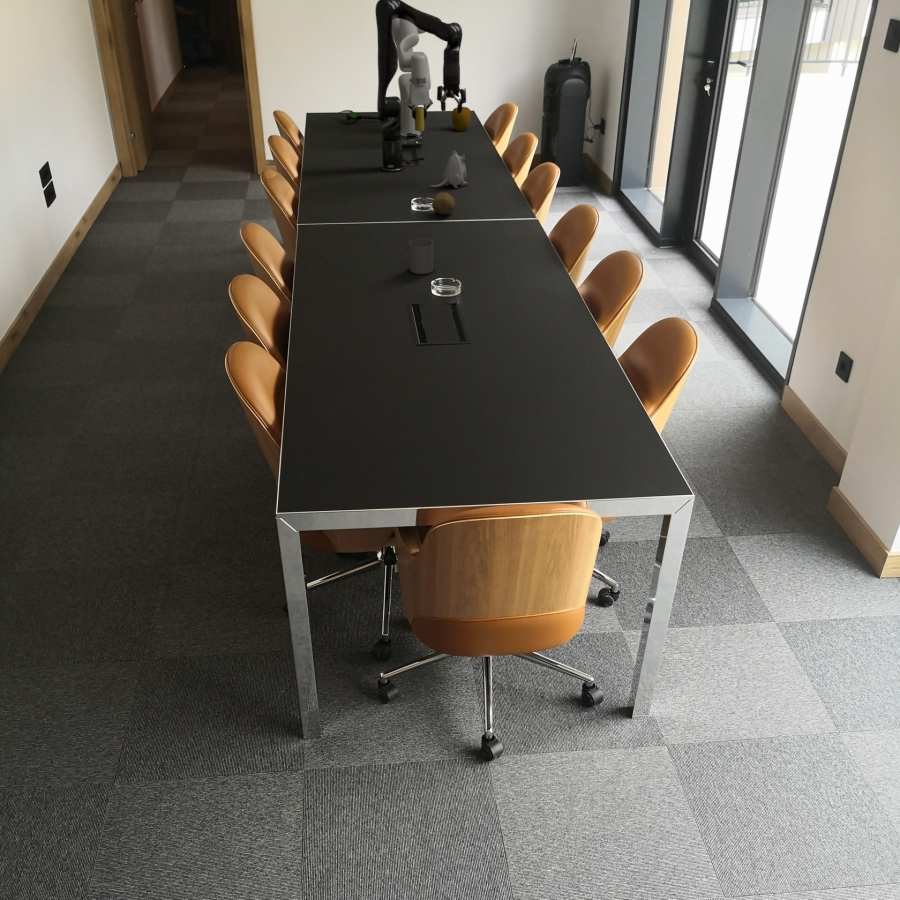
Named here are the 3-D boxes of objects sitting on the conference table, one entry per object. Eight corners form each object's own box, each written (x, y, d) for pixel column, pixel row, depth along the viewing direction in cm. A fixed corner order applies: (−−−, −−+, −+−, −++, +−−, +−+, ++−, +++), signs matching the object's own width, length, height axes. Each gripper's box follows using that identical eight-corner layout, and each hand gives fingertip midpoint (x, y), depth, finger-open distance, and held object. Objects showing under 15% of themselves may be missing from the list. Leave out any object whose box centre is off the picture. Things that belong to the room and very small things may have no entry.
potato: (453, 208, 369) (453, 189, 365) (456, 218, 357) (456, 199, 353) (431, 208, 368) (430, 189, 364) (432, 218, 356) (432, 199, 352)
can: (421, 131, 450) (420, 108, 444) (413, 130, 452) (412, 108, 446) (425, 129, 454) (425, 107, 448) (417, 128, 456) (417, 106, 450)
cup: (409, 265, 311) (408, 238, 306) (432, 265, 312) (431, 238, 307) (410, 274, 304) (409, 246, 299) (433, 273, 305) (433, 246, 299)
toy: (472, 184, 399) (472, 151, 391) (436, 195, 384) (436, 161, 376) (457, 180, 404) (458, 147, 396) (422, 191, 389) (421, 157, 381)
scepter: (388, 107, 510) (337, 105, 507) (388, 120, 503) (336, 118, 500) (388, 116, 515) (337, 114, 512) (388, 129, 507) (337, 127, 505)
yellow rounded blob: (471, 132, 486) (471, 108, 479) (451, 132, 486) (451, 108, 479) (470, 128, 495) (471, 104, 488) (452, 128, 495) (452, 104, 488)
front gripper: (469, 73, 381) (469, 112, 390) (443, 70, 388) (443, 108, 396) (460, 76, 376) (460, 115, 384) (433, 72, 382) (433, 111, 391)
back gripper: (404, 82, 435) (404, 120, 445) (436, 81, 439) (437, 119, 449) (400, 80, 442) (401, 117, 451) (433, 78, 445) (433, 116, 455)
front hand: (451, 112), depth 390 cm, fingers open, 8 cm apart
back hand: (419, 118), depth 450 cm, fingers closed on can, 4 cm apart
